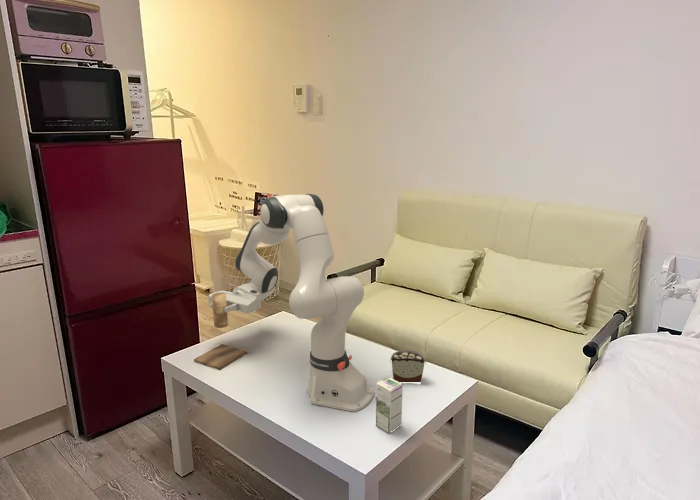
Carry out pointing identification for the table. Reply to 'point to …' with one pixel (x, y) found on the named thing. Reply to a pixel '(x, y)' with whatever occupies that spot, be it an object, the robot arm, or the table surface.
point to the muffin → (407, 366)
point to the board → (220, 356)
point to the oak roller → (219, 310)
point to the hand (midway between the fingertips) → (218, 308)
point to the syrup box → (388, 404)
